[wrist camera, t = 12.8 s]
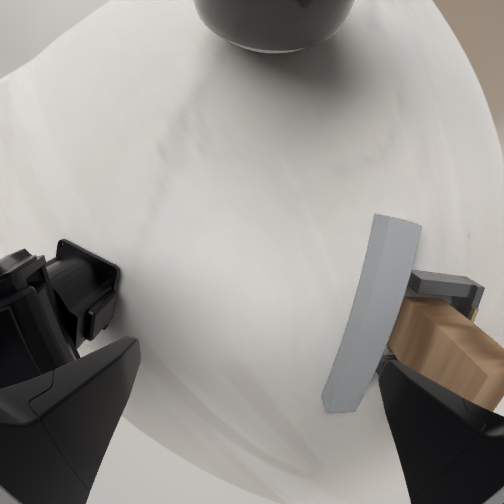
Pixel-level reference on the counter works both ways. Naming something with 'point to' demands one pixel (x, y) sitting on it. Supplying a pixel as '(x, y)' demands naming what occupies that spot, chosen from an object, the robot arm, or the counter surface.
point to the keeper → (447, 285)
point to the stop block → (449, 350)
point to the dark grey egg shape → (274, 22)
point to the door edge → (372, 311)
